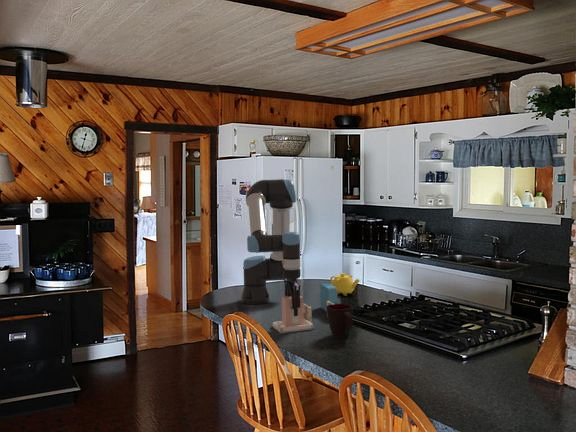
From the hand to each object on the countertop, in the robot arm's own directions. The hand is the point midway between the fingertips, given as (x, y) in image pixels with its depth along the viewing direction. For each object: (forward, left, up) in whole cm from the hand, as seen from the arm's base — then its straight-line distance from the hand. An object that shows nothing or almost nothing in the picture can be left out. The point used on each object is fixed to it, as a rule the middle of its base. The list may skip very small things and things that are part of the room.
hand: (292, 321), depth 247 cm
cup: (+20, +14, -3) cm, 25 cm away
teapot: (-51, +50, -3) cm, 71 cm away
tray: (0, 0, -3) cm, 3 cm away
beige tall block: (0, 0, -1) cm, 1 cm away
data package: (-22, +27, -3) cm, 35 cm away
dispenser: (-8, +16, -3) cm, 18 cm away
